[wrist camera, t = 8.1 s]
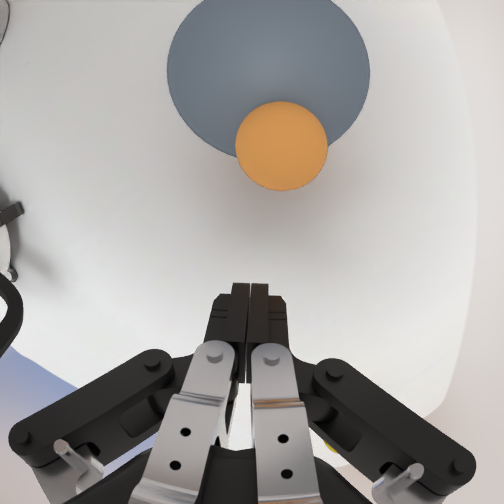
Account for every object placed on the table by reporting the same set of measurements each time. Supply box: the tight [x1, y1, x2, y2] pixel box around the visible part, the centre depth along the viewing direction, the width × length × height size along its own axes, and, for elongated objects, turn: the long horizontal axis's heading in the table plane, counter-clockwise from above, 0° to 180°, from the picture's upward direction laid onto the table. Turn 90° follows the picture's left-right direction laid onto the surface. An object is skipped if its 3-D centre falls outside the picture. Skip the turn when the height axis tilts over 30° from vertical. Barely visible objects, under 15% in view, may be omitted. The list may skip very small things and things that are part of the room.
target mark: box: [167, 0, 370, 157], centre depth 17 cm, size 14×14×1 cm
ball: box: [235, 101, 328, 191], centre depth 17 cm, size 6×6×6 cm
